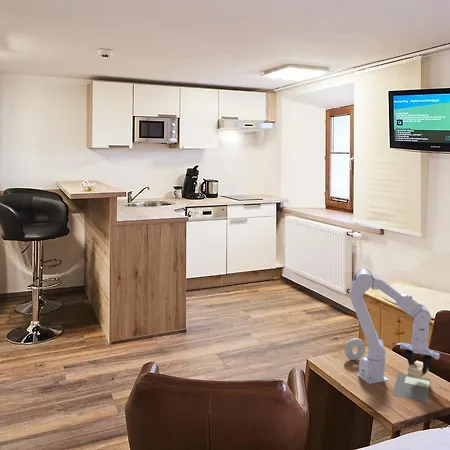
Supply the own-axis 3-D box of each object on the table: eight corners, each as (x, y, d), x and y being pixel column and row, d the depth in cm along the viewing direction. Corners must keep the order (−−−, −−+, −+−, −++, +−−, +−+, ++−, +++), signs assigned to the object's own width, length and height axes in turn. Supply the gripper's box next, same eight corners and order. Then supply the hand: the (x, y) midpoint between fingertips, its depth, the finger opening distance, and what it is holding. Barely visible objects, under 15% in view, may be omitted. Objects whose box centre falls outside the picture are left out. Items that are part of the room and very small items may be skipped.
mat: (427, 403, 171) (427, 402, 171) (392, 396, 176) (392, 394, 176) (430, 380, 189) (430, 378, 189) (398, 373, 194) (398, 372, 194)
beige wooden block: (419, 378, 181) (419, 370, 181) (407, 375, 184) (408, 366, 184) (427, 372, 187) (428, 364, 186) (416, 368, 190) (416, 360, 189)
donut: (361, 357, 210) (363, 335, 208) (366, 360, 207) (367, 338, 205) (342, 359, 207) (343, 338, 205) (346, 363, 204) (347, 341, 202)
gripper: (397, 335, 186) (395, 368, 188) (435, 345, 176) (432, 380, 178) (405, 330, 191) (403, 362, 193) (442, 340, 181) (440, 374, 183)
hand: (418, 370), depth 185 cm, fingers closed on beige wooden block, 4 cm apart
